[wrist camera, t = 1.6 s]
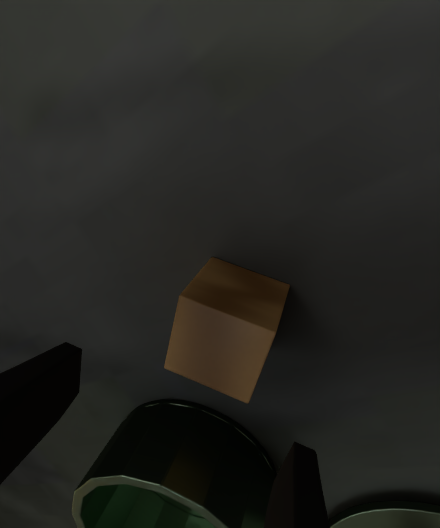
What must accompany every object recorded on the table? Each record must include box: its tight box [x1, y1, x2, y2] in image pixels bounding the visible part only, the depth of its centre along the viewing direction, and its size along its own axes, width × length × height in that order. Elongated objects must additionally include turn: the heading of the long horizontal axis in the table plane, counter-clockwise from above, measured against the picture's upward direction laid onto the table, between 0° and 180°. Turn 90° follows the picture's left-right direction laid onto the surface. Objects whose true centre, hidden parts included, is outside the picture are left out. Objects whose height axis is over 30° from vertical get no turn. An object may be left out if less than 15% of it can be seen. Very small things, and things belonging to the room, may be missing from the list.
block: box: [164, 257, 290, 403], centre depth 16 cm, size 4×4×4 cm
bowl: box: [72, 400, 276, 528], centre depth 22 cm, size 11×11×5 cm
